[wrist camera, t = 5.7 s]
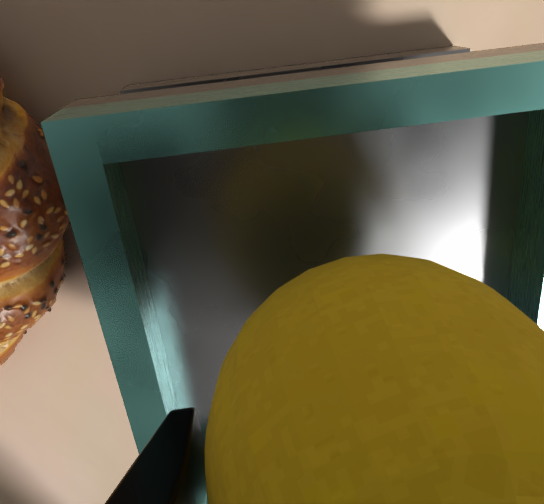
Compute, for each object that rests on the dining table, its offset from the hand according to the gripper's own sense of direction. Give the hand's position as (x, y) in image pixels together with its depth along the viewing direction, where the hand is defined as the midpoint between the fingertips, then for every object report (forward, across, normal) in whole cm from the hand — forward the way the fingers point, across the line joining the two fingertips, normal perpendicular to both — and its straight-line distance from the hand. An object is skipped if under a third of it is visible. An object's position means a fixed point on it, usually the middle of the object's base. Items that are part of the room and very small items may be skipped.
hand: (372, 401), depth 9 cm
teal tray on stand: (+8, 0, 0) cm, 8 cm away
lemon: (+3, 0, 0) cm, 3 cm away
